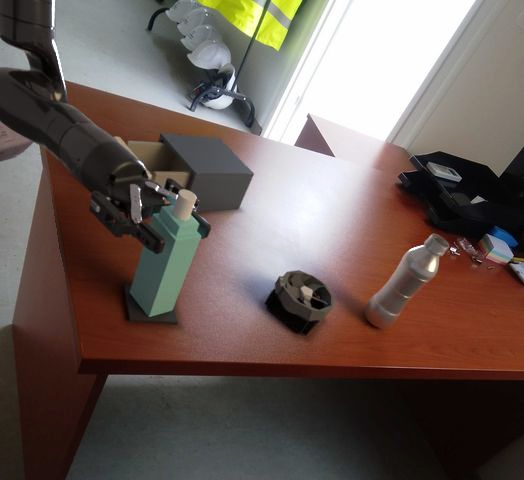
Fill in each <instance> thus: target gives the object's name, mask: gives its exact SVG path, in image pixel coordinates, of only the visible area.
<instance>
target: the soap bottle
mask: <svg viewBox="0 0 524 480" xmlns="http://www.w3.org/2000/svg"><path fill="white" fill-rule="evenodd" d="M195 201H196V195H195V194H194V193H192V192H191V191H189V190H185V189H182V190H180V191H179V193H178V196H177V199H176V202H175V205H173V206H170V205H164V206H162V207H161V210H160V213H156V214H153V215H152V217H150V222H149V225H150V226H151V227H152V228H153V229H154V230H155V231H156V232H157V233H158V234H160V235H161V236H162V237H163V238H164V239H165V245H164V248H163V251H162V253H159V254H155V253H154V252H153V251H150V250H148V249H147V248H146V247H145V246H144V245H143V246H142V250H141V253H140V255H139V256H140V257H139V260H138V263H137V266H136V270H135V273H134V277H133V280H132V283H131V285H132V287H131V290H130V294H131V295H132V296H133V297H134V299H135V300H136V301H137V303H138V304H139V305H140V306H141V308H142V309H143V310H144V312H145V313H146V314H147V315H148V317H151V316H155V315H158V314H162V313H165V312H169V311H172V310H173V307H174V308H175V305H176V302H177V300H178V297H179V295H180V292H181V289H182V287H183V285H184V281H185V279H186V277H187V274H188V272H189V269H190V266H191V264H192V261H193V259H194V257H195V254H196V252H197V249H198V247H199V244H200V242H201V240H202V239H201V235H200V234H199V233H198V232H197V229H198V227H199V223H198V222H197V221H196V220H195V219H194V218H193V216H192V215H191V212H192V209H193V207H194V204H195Z"/></svg>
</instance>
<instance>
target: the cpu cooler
mask: <svg viewBox="0 0 524 480" xmlns="http://www.w3.org/2000/svg"><path fill="white" fill-rule="evenodd" d="M263 303H264V305H265V306H266V309H267V311H268V312H269V313H271V314H272V315H273V316H275V318H277V319H278V320H280V321H281V322H282V323H284V325H286V326H287V327H288V328H290V329H292V331H293V332H295V333H296V334H303V335H304V336H305V337H306V336H307V335H308V334H309V333H310V332H311V331H312V330H313V329H314V328H315V327H316V326H317V324H319V323H320V322H321V321H324V320H325V318H326V317H327V316H328V314H329V313H330V312H331V311H332V309H334V305H335V297H334V295H333V294H332V292H331V290H330V288H329V286H328V285H327V284H326V283H325V282H324V281H322V280H320V279H318V278H317V277H315V276H314V275H312V274H310V273H307V272H306V271H305V272H304V271H302V270H300V269H297V270H290V271H286V272H285V273H284V274H283V275H282V276H281V275H279V276H278V278H277V279H276V281H275V282H274V289H272V290H271V291H270V293H269V294H268V296H267V298H266V300H265V301H264V302H263Z"/></svg>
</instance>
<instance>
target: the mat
mask: <svg viewBox="0 0 524 480" xmlns="http://www.w3.org/2000/svg"><path fill="white" fill-rule="evenodd" d="M131 287H132V284H125V283H124V285H123V292H124V298H125V304H126V310H127V317H128V322H132V323H134V322H135V323H146V324H159V325H161V324H162V325H178V323H179V322H178V316H177V313H176V312H177V311H176V309H175V306H174V307H173V310H172V311H169V312H165V313H162V314H158V315H155V316H151V317H148V315H147V314H146V313H145V312H144V310H143V309H142V308H141V306H140V305H139V304H138V303H137V301H136V300H135V299H134V297H133V296H132V295H131V294H130V290H131Z"/></svg>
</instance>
